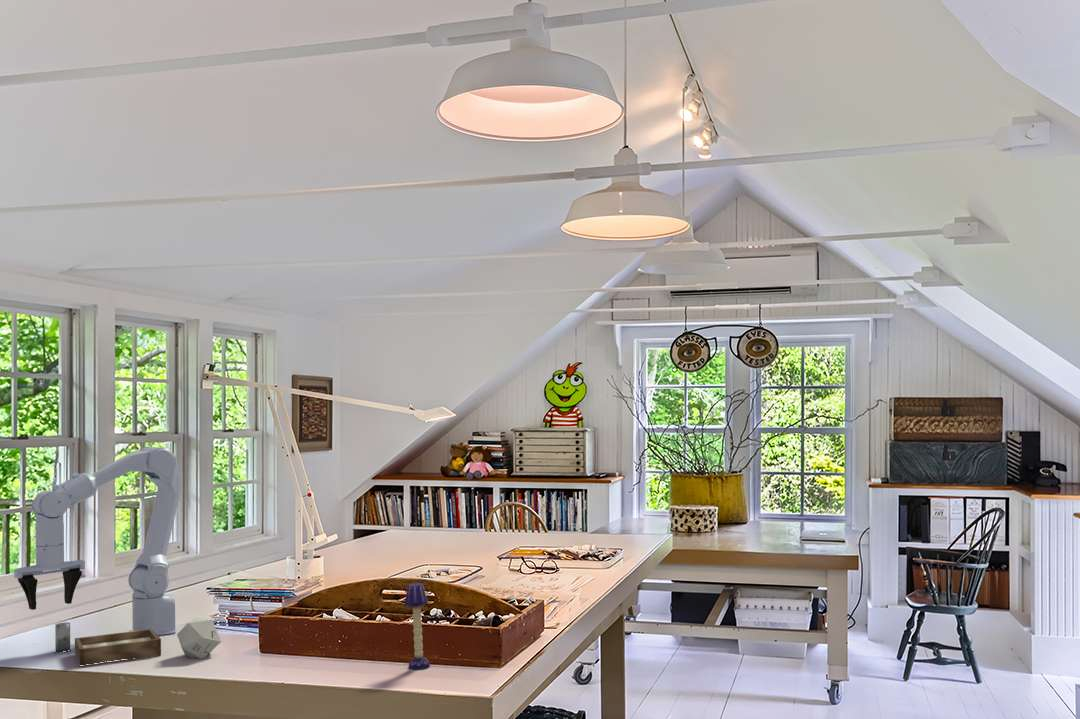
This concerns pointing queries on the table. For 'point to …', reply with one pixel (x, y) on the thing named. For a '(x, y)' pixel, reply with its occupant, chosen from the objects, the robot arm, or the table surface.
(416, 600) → the toy lamp
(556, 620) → the table surface
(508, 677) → the table surface
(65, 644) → the peg
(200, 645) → the die
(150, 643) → the peg box
